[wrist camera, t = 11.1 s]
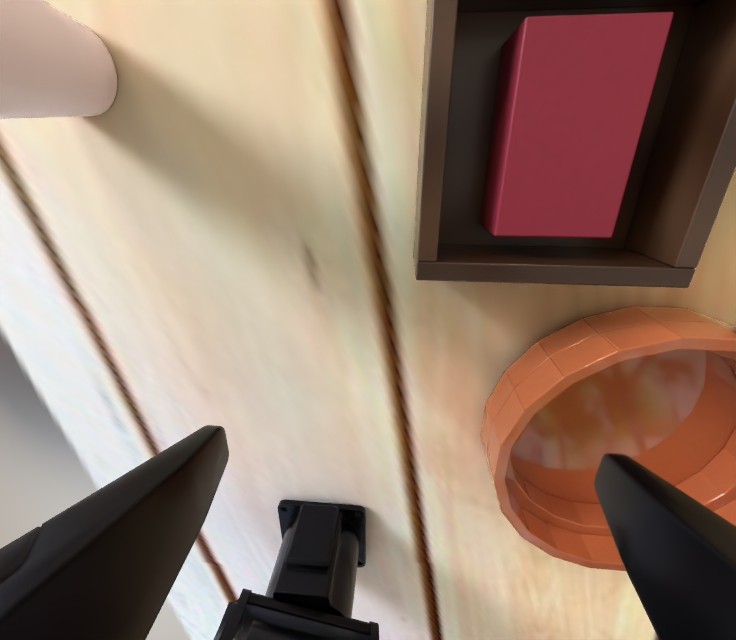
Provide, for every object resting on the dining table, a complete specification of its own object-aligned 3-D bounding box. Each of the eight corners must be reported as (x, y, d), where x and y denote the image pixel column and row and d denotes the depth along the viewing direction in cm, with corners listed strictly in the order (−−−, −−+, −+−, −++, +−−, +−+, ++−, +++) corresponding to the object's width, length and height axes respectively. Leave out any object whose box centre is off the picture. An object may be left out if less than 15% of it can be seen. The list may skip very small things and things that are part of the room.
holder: (629, 262, 17) (689, 288, 14) (413, 256, 18) (415, 280, 15) (715, -18, 13) (835, -87, 10) (427, -8, 14) (436, -67, 10)
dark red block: (577, 225, 17) (612, 238, 14) (479, 224, 17) (494, 236, 14) (621, 40, 14) (676, 10, 11) (502, 44, 14) (525, 15, 11)
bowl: (697, 518, 24) (751, 582, 20) (466, 500, 25) (478, 558, 21) (814, 308, 18) (922, 346, 14) (500, 298, 19) (523, 330, 15)
